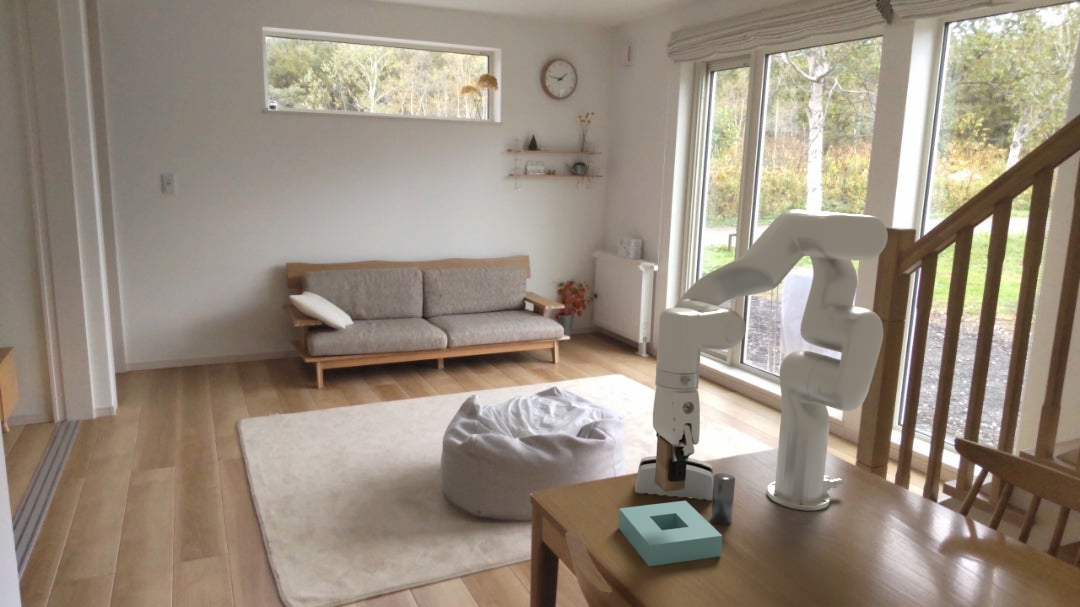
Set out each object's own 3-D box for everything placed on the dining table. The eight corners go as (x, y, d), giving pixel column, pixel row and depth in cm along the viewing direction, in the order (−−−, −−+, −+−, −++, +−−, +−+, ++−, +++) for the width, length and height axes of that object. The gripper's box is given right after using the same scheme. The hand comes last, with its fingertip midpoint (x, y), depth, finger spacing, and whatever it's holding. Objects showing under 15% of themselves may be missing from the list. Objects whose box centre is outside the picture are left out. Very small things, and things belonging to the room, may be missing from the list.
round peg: (725, 514, 145) (728, 472, 143) (735, 523, 141) (739, 480, 139) (707, 516, 144) (710, 474, 142) (717, 526, 140) (720, 482, 138)
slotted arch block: (713, 490, 156) (717, 455, 151) (714, 506, 152) (718, 471, 147) (635, 482, 159) (636, 447, 154) (634, 498, 155) (635, 463, 150)
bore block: (684, 519, 142) (685, 500, 142) (720, 556, 129) (722, 535, 128) (618, 527, 139) (619, 508, 138) (648, 566, 125) (649, 545, 125)
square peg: (674, 480, 134) (677, 434, 132) (684, 489, 130) (687, 442, 129) (654, 482, 133) (657, 435, 131) (664, 491, 129) (667, 443, 128)
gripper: (720, 390, 121) (712, 493, 124) (675, 364, 137) (669, 455, 140) (679, 393, 119) (672, 497, 122) (638, 366, 135) (633, 459, 138)
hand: (670, 474), depth 131 cm, fingers closed on square peg, 4 cm apart
